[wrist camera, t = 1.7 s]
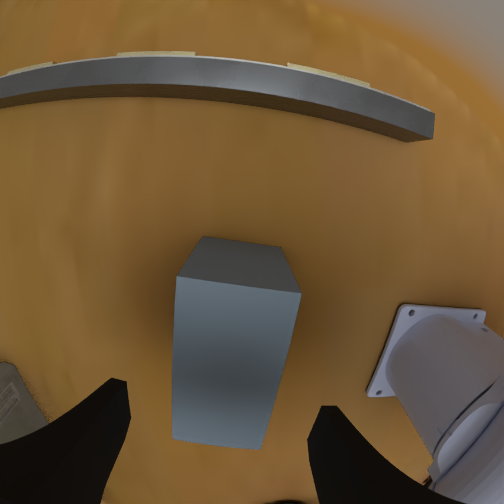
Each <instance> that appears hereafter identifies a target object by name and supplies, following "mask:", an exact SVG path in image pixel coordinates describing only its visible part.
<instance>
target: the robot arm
mask: <svg viewBox="0 0 504 504" xmlns="http://www.w3.org/2000/svg"><path fill="white" fill-rule="evenodd" d="M410 310H412V312H411V313H410V314H409V311H410ZM485 317H486V312H485V311H484V310H482V309H467V308H452V307H439V306H426V305H414V304H403V305H401V306H400V307H399V309H398V312H397V315H396V318H395V321H394V324H393V326H392V329H391V332H390V335H389V337H388V340H387V343H386V345H385V348H384V351H383V353H382V356H381V358H380V361H379V363H378V366H377V368H376V370H375V373H374V375H373V377H372V380H371V382H370V384H369V386H368V389H367V391H366V393H367V395H368V396H369V397H387V396H396V397H397V398H398V400H399V401H400V403H401V405H402V406H403V408H404V410H405V411H406V413H407V415H408V417H409V418H410V420H411V422H412V423H413V425H414V427H415V428H416V430H417V432H418V434H419V435H420V437H421V439H422V441H423V442H424V444H425V446H426V448H427V449H428V451H429V453H430V455H431V456H432V458H433V460H434V461H433V463H432V464H431V466H430V467H429V468H428V469H427V470H428V472H429V474H430V476H431V478H432V480H433V482H432V483H431V485H430V486H429V487H428V488H427V487H425V486H423V485H421V484H420V483H418V482H416V481H415V480H413V479H411V478H410V477H408V476H407V475H406V474H404V473H403V472H401V471H400V470H399V469H398V468H396V467H395V466H394V465H392V464H391V463H390V462H389V461H388V460H387V459H385V458H384V457H383V456H382V455H381V454H380V453H379V452H378V451H377V450H376V449H375V448H374V447H373V446H372V445H371V444H370V443H369V442H368V441H367V440H366V439H365V438H364V437H363V436H362V435H361V433H360V432H359V431H358V430H357V429H356V428H355V427H354V426H353V424H352V423H351V422H350V421H349V420H348V419H347V417H346V416H345V415H344V414H343V413H342V411H341V410H340V409H339V408H338V407H337V406H321V408H320V411H319V413H318V416H317V418H316V420H315V423H314V425H313V427H312V430H311V432H310V434H309V437H308V439H307V441H308V453H309V462H310V466H311V471H312V475H313V479H314V483H315V487H316V491H317V495H318V500H319V504H504V339H503V338H502V337H500V336H499V335H498V334H496V333H495V332H494V331H493V330H491V329H490V328H489V327H487V326H486V325H485V324H483V322H484V320H485ZM379 390H380V391H379ZM377 391H378V392H377ZM130 420H131V414H130V407H129V399H128V391H127V382H126V381H122V380H118V379H115V378H110V379H109V380H108V381H106V382H105V383H104V384H103V385H102V386H100V387H99V388H98V389H97V390H95V391H94V392H93V393H92V394H91V395H89V396H88V397H87V398H86V399H84V400H83V401H82V402H80V403H79V404H78V405H76V406H75V407H74V408H72V409H71V410H70V411H68V412H67V413H65V414H64V415H62V416H61V417H59V418H58V419H56V420H54V421H53V422H51V423H49V424H48V425H46V426H44V427H42V428H40V429H38V430H36V431H34V432H32V433H30V434H28V435H25V436H23V437H20V438H18V439H15V440H13V441H10V442H7V443H3V444H0V504H100V503H101V499H102V495H103V492H104V488H105V486H106V483H107V480H108V478H109V475H110V473H111V471H112V468H113V466H114V464H115V461H116V459H117V457H118V455H119V452H120V450H121V448H122V445H123V443H124V440H125V438H126V434H127V431H128V427H129V424H130Z"/></svg>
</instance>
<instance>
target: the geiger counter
mask: <svg viewBox="0 0 504 504" xmlns="http://www.w3.org/2000/svg"><path fill="white" fill-rule="evenodd" d="M48 424H49V423H48V422H47V420H46V419H45V417H44V415H43V414H42V412H41V411H40V409H39V408H38V406H37V404H36V403H35V401H34V399H33V398H32V396H31V394H30V393H29V391H28V389H27V387H26V385H25V384H24V382H23V380H22V378H21V376H20V374H19V372H18V371H17V369H16V367H15V365H12V364H10V363H7V362H2V363H0V444H3V443H7V442H10V441H13V440H15V439H18V438H20V437H23V436H25V435H28V434H30V433H32V432H34V431H36V430H38V429H40V428H42V427H44V426H46V425H48Z"/></svg>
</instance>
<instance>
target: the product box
mask: <svg viewBox="0 0 504 504" xmlns="http://www.w3.org/2000/svg"><path fill="white" fill-rule="evenodd" d="M301 295H302V293H301V290H300V288H299V286H298V284H297V282H296V279H295V277H294V275H293V273H292V271H291V269H290V266H289V264H288V262H287V260H286V258H285V256H284V253H283V251H282V249H281V247H275V246H268V245H262V244H255V243H248V242H241V241H234V240H227V239H220V238H213V237H206V236H203V237H202V238H201V240H200V241H199V243H198V244H197V246H196V247H195V249H194V250H193V252H192V253H191V255H190V256H189V258H188V259H187V261H186V262H185V264H184V266H183V267H182V269H181V270H180V272H179V273H178V275H177V278H176V292H175V309H174V329H173V358H172V434H173V439H176V440H181V441H187V442H193V443H200V444H207V445H215V446H223V447H233V448H244V449H258V450H260V449H261V446H262V443H263V440H264V436H265V433H266V430H267V426H268V423H269V420H270V416H271V413H272V409H273V406H274V402H275V399H276V395H277V391H278V388H279V384H280V380H281V377H282V373H283V369H284V365H285V361H286V357H287V354H288V350H289V346H290V342H291V338H292V334H293V329H294V325H295V321H296V317H297V313H298V308H299V304H300V299H301Z"/></svg>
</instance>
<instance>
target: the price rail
mask: <svg viewBox="0 0 504 504" xmlns="http://www.w3.org/2000/svg"><path fill="white" fill-rule="evenodd" d="M96 97H167V98H185V99H198V100H210V101H220V102H229V103H237V104H244V105H252V106H258V107H265V108H271V109H277V110H282V111H288V112H293V113H298V114H303V115H308V116H313V117H317V118H322V119H326V120H330V121H334V122H338V123H342V124H346V125H350V126H354V127H358V128H361V129H365V130H368V131H372V132H375V133H379V134H382V135H385V136H388V137H391V138H395V139H398V140H401V141H404V142H414V141H422V140H430V139H433V132H434V120H435V113H432V112H430V110H429V109H427V108H425V107H422V106H420V105H417V104H415V103H412V102H410V101H407V100H405V99H402V98H399V97H396V96H394V95H391V94H388V93H385V92H382V91H379V90H376V89H373V88H370V84H369V83H366V82H363V81H360V80H356V79H353V78H350V77H346V76H342V75H339V74H335V73H331V72H327V71H323V70H319V69H315V68H310V67H306V66H301V65H296V64H291V63H287V65H286V66H281V65H275V64H269V63H263V62H256V61H249V60H241V59H232V58H221V57H209V56H197V54H196V52H182V51H146V52H124V53H117V56H115V57H103V58H93V59H85V60H77V61H70V62H64V63H56V62H54V61H52V62H47V63H42V64H37V65H33V66H28V67H24V68H20V69H16V70H13V71H9V72H8V73H7V75H4V76H1V77H0V108H6V107H11V106H17V105H24V104H31V103H38V102H46V101H55V100H66V99H78V98H96Z"/></svg>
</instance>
